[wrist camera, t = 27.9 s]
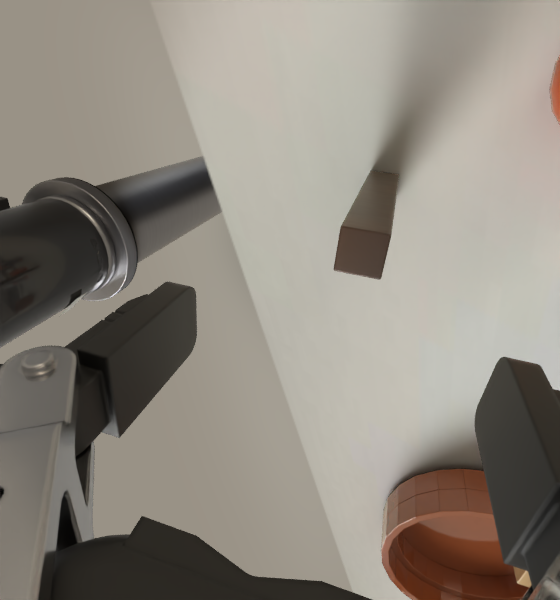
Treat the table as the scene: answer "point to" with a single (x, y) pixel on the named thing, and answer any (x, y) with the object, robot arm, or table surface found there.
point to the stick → (368, 227)
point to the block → (522, 577)
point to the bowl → (445, 539)
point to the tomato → (555, 90)
